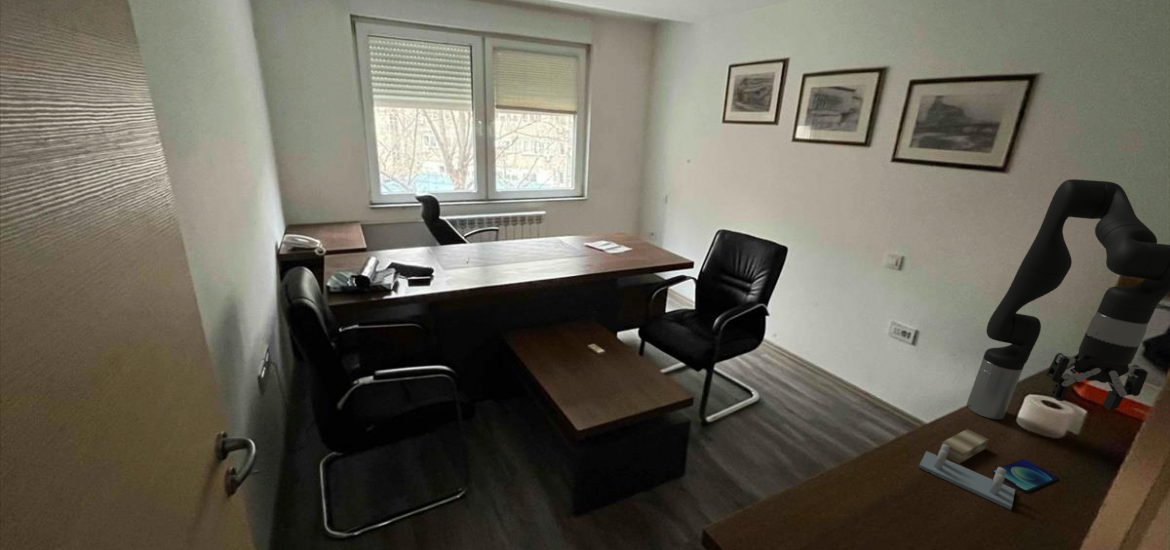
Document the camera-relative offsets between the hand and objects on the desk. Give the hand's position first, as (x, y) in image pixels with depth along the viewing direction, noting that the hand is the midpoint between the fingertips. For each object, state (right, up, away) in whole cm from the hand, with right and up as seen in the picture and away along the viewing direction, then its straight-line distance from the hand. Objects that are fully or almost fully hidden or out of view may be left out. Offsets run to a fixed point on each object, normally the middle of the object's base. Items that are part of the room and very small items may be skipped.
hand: (1082, 403), depth 99 cm
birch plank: (-5, -21, +26) cm, 33 cm away
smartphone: (+4, -24, +18) cm, 30 cm away
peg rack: (-13, -23, +15) cm, 31 cm away
